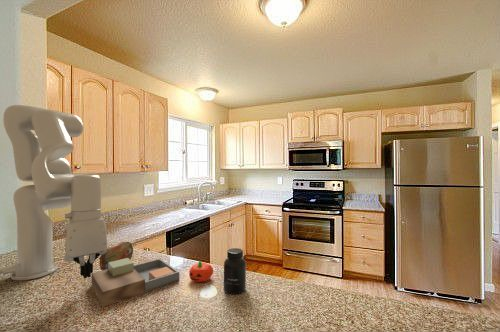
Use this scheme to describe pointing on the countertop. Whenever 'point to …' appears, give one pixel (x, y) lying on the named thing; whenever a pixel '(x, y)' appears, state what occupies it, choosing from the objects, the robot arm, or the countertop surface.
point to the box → (160, 281)
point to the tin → (116, 254)
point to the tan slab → (117, 286)
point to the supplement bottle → (234, 272)
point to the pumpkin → (200, 272)
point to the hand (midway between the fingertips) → (86, 276)
